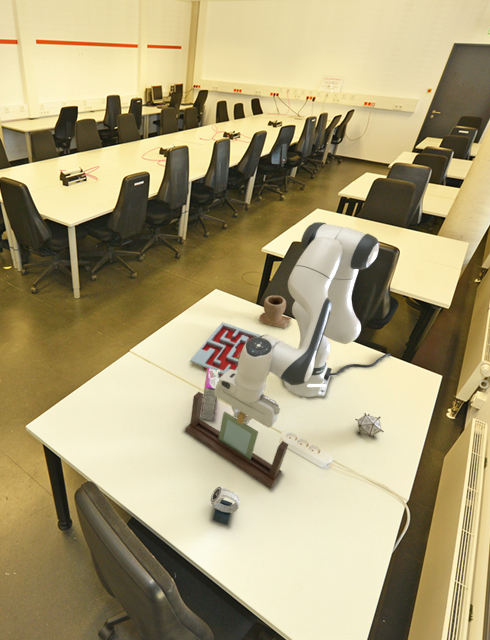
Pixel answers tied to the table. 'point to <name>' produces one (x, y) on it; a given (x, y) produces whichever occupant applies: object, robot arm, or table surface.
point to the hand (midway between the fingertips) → (241, 419)
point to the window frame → (253, 467)
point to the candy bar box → (210, 394)
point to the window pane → (238, 434)
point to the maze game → (223, 348)
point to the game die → (369, 425)
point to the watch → (223, 504)
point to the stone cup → (274, 312)
